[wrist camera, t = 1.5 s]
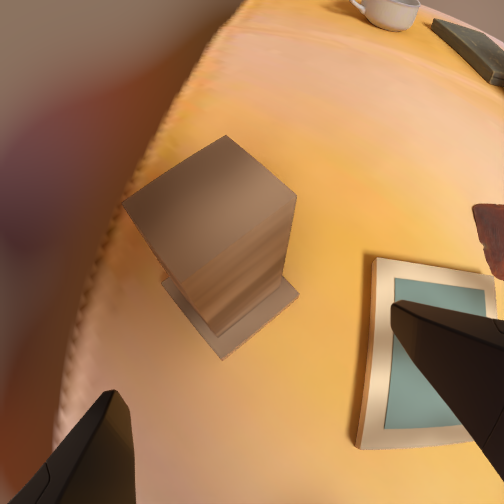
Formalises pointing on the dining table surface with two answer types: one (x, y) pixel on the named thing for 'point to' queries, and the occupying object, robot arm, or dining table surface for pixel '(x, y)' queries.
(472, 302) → the teal framed panel
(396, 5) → the teacup
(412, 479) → the dining table surface
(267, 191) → the stepped wooden pillar
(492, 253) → the wooden tablet
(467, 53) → the case
